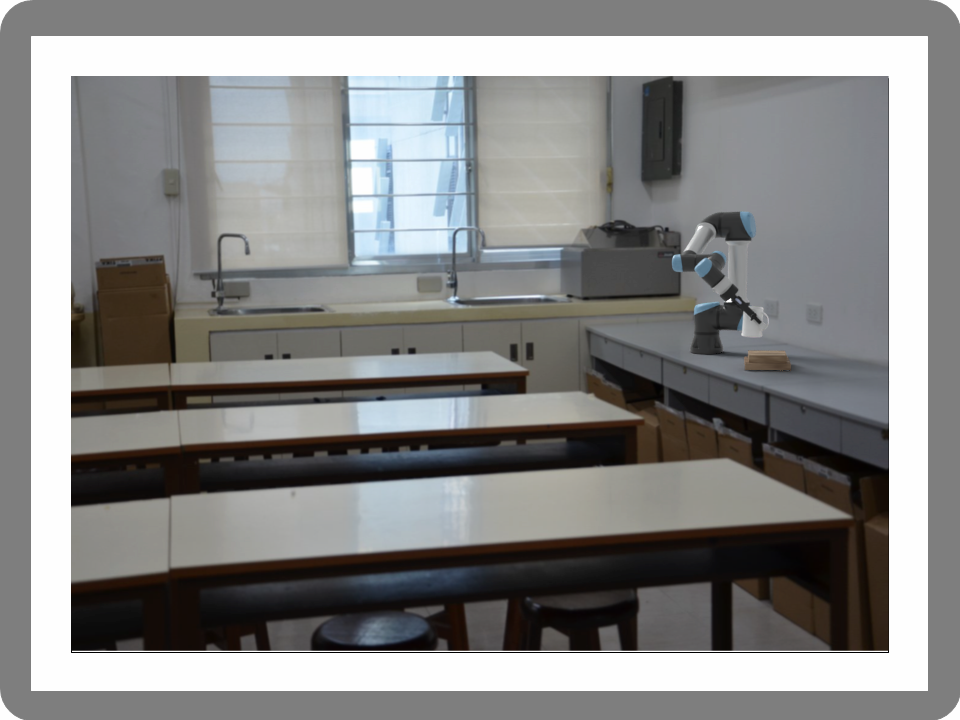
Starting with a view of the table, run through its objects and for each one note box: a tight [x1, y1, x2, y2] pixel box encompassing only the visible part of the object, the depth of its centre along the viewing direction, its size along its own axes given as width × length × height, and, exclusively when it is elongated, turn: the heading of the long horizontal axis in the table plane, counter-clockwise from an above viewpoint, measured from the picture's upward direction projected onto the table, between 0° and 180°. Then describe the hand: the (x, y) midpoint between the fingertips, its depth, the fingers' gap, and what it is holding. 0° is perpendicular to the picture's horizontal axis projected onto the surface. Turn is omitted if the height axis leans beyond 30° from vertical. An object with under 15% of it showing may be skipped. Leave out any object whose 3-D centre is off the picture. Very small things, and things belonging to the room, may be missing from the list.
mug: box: [740, 305, 770, 338], centre depth 399 cm, size 12×8×12 cm
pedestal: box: [743, 349, 792, 372], centre depth 400 cm, size 19×18×6 cm
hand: (763, 327), depth 400 cm, fingers closed on mug, 9 cm apart
